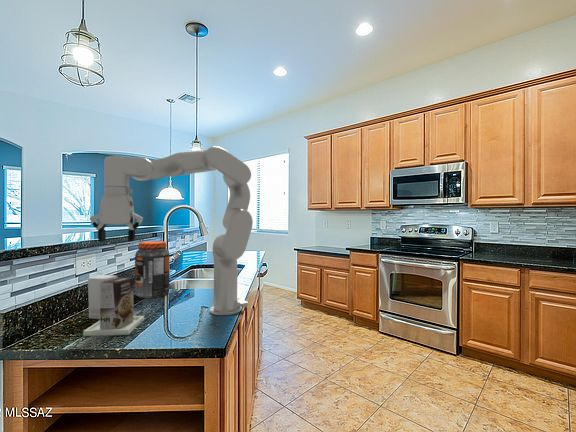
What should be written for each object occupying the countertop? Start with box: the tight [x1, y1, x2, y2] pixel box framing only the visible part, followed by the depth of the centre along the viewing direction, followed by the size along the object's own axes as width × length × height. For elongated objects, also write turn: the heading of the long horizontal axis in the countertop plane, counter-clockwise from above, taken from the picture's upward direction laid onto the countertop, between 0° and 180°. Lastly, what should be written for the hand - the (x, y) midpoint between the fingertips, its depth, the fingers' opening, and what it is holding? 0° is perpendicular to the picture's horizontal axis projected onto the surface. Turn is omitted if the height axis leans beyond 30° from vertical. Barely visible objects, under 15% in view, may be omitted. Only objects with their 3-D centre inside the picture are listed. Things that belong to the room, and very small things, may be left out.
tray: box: [82, 315, 145, 337], centre depth 108 cm, size 14×14×2 cm
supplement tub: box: [134, 240, 171, 299], centre depth 152 cm, size 16×16×26 cm
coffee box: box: [99, 277, 135, 330], centre depth 108 cm, size 9×6×16 cm
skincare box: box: [87, 274, 118, 320], centre depth 119 cm, size 8×7×16 cm
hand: (116, 241), depth 108 cm, fingers open, 9 cm apart
